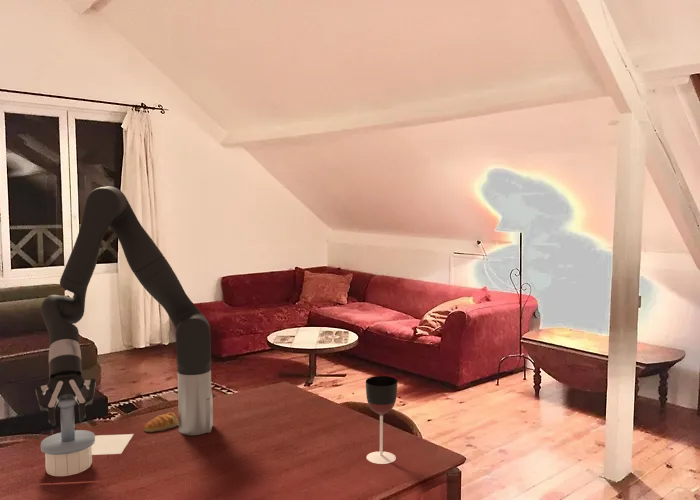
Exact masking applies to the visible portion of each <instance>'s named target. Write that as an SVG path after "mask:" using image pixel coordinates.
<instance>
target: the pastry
mask: <svg viewBox="0 0 700 500" xmlns="http://www.w3.org/2000/svg"><path fill="white" fill-rule="evenodd" d="M178 423H179V418H177V415H176V414H175V413H174V412H167V413H166V414H160V415H156V416H155V418H152V419H150V420H149V421H148V422H146V423H145V424H144V426H143V431H144V432H147V433H154V432H160V431H165V430H169V429H172V428H176V427H179V425H178Z"/></svg>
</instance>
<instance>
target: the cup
mask: <svg viewBox="0 0 700 500" xmlns="http://www.w3.org/2000/svg"><path fill="white" fill-rule="evenodd" d="M44 454H45V455H44V457H45V458H44V459H45V470H46V471H45V472H46V473H47V475H50V476H53V477H67V476H72V475H77V474H80V473H83V472H84V471H86V470H88V469H89V468H90V467H91V466H92V463H93V455H92V446H90V447H88V448H86V449H84V450H81V451H78V452H74V453H70V454H62V455H51V454H46V453H44Z"/></svg>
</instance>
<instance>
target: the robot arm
mask: <svg viewBox="0 0 700 500" xmlns="http://www.w3.org/2000/svg"><path fill="white" fill-rule="evenodd" d="M85 200H86V201H85V205H84V209H83V214H82V218H81V223H80V227H79V230H78V233H77V237H76V240H75V242H74V245H73V247H72V251H71V253H70V255H69V256H68V260H67V262H66V265H65V267H64V270H63V271H62V272H63V273H62V274H61V277H60V279H59V285H60V287H62V288H63V290H66V291H68V292H70V293H73V296H72V297H69V296H65V295H59V294H49V295H48V296H46V297H45V298H44V299H43V301H42V304H41V307H40V309H41V310H40V312H41V317H42V320H43V321H44V325H45V327H46V330H47V332H48V336H49V337H48V338H49V350H48V382H47V383H46V384H45V385H44V384H43V385H40V384H37V385H35V387H34V389H35V395H36V398H37V402H38V406H39V409H40V411H41V412H43V411H47V414H48V415H47V416H48V423H49V425H50V424H51V426H52V427H53V426H56V406H58V402H59V401H60V400H63V399H75V401H76V402H77V404H78V414H79V415H78V417H79V419H78V420H79V423H81V422H83V420H85V419H86V407H87V405H92V404H93V403H94V398H95V397H94V396H95V392H96V391H95V390H96V386H97V385H96V384H97V383H96V382H97V380H96V378H91V379H89V380H88V379H87V380H86V379H85V378H84V377H83V368H82V352H81V347H80V336H79V335H80V332H79V328H78V327H77V326H76V325H75V324H77V323H78V322H80V321H81V320H82V318H83V317H84V315H85V305H86V297H87V296H86V295H87V291H88V286H89V284H90V282H91V278H92V276H93V274H94V272H95V269H96V266H97V263H98V258H99V254H100V253H99V252H100V250H101V249H100V248H101V245H102V242H103V239H104V237H105V235H106V233H107V231H108V230H109V228H110V229H111V230H112V232H113V233H114V235H115V236H116V238H117V240H118V241H119V243H120V245H121V249H122V250H123V254H124V256H125V259H126V262H127V264H128V266H129V268H130V270H131V271H132V273H133V274H134V275H135V277H136V279H137V280H138V282H139V283H140V284H141V286H142V287H143V288H144V289H145V290H146V291H147V292H148V294H149V295H150V296H151V297H152V298H153V299H154V300H155V301H157V303H158V304H159V305H160V306H161V307H162V308H163V309H164V311H165V312H166V314H167V315H168V317H169V318H170V320H171V322H172V324H173V325H174V329H175V331H176V332H175V337H176V339H175V341H176V343H175V344H176V365H177V366H176V367H177V404H178V405H177V407H178V408H177V412H178V413H177V414H178V416H177V417H178V418H177V419H178V431H179V433H180V434H183V435H186V436H199V435H203V434H206V433H208V434H210V433H211V432H212V429H213V426H214V408H213V407H214V405H213V402H214V401H213V398H214V397H213V393H212V348H211V347H212V346H211V345H212V344H211V343H212V341H211V340H212V339H211V337H212V336H211V324H210V322H209V320H208V319H207V318H206V317H205V315H204V314H203V313H202V312H201V311H200V310H199V309H198V307H197V306H196V305H195V303H194V302H193V301H192V300H191V299H190V298H189V296H188V295H187V293H186V291H185V290H184V288H183V286H182V284H181V281H180V279H179V278H178V276H177V274H176V272H175V271H174V269H173V268H172V266H171V264H170V263H169V261H168V260H167V259H166V256H164V254H163V253H162V251H161V250H160V249H159V247H158V245H156V243H155V242H154V240H153V239H152V238H151V236H150V234H149V233H147V231H146V230H145V228H144V227H143V225H142V224H141V223H140V220H139V219H138V217H137V216H136V214H135V211H133V208H132V206H131V204H130V202H129V200H128V198H127V196H126V195H125V194H124V193H123V191H121V190H120V189H119V188H117V187H115V186H110V185H108V186H107V185H106V186H100V187H97V188H94V189H93V190H92V191H90V192H89V194H88V195H87V197H86V199H85ZM84 386H85V387H86V389H87V390H88V393H87V397H84V396H83V394H82V392H81V390H82V389H83V387H84ZM47 391H49V392H50V393H51V394H52V395H51V398H50V401H49V403H48V402H46V400H45V397H44V396H45V395H46V392H47Z"/></svg>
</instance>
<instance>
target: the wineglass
mask: <svg viewBox="0 0 700 500" xmlns="http://www.w3.org/2000/svg"><path fill="white" fill-rule="evenodd" d="M365 392H366V393H365V394H366V400H367V401H366V402H367V405H368V407H369V408H370V410H371V411H372V412H374V413H376V414H377V415H379V451H373V452H370V453H368V454H367V455H366V461H368V462H369V463H373V464H378V465H385V464H390V463H393V462H395V461H396V459H397V457H396V455H395V454H394V453H392V452H388V451H383V449H384V448H383V447H384V444H383V443H384V442H383V441H384V440H383V439H384V435H383V433H384V415H385V414H387V413H389V412H390V411H392V410H393V408H394V407H395V405H396V402H397V401H396V400H397V395H398V379H396V378H395V377H392V376H387V375H377V376H370V377H368V378H367V379H366V380H365Z"/></svg>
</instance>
